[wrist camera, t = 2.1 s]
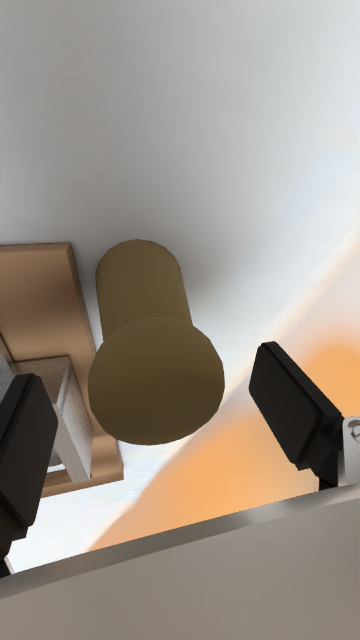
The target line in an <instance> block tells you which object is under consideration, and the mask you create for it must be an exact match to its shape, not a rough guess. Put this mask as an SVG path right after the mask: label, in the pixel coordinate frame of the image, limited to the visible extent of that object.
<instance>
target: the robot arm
mask: <svg viewBox="0 0 360 640" xmlns="http://www.w3.org/2000/svg"><path fill="white" fill-rule="evenodd" d="M249 392H250V395H251V396H252V398H253V400H254V401H255V403H256V405H257V406H258V408H259V410H260V412H261V413H262V415H263V417H264V418H265V420H266V422H267V424H268V425H269V427H270V429H271V430H272V432H273V434H274V436H275V437H276V439H277V441H278V442H279V444H280V446H281V448H282V449H283V451H284V453H285V454H286V456H287V458H288V459H289V461H290V462H291V463H293V464H295V465H296V467H297V468H298V471H300V470H304V469H308V468H311V470H312V471H313V473H314V474H315V483H314V493H309V494H305V495H301V496H297V497H293V498H289V499H285V500H282V501H278V502H274V503H270V504H266V505H262V506H259V507H255V508H251V509H247V510H243V511H239V512H236V513H232V514H228V515H224V516H221V517H217V518H213V519H209V520H206V521H202V522H198V523H194V524H191V525H187V526H183V527H179V528H176V529H172V530H168V531H164V532H161V533H157V534H153V535H150V536H146V537H142V538H138V539H135V540H131V541H127V542H124V543H120V544H116V545H113V546H109V547H105V548H102V549H98V550H94V551H91V552H87V553H83V554H80V555H76V556H72V557H69V558H66V559H62V560H59V561H55V562H52V563H48V564H45V565H42V566H38V567H35V568H31V569H28V570H24V571H21V572H18V573H15V572H14V570H13V568H12V566H11V564H10V562H9V559H8V557H7V555H8V553H9V550H10V547H11V543H12V541H15V540H19V539H23V538H26V534H27V530H28V527H29V526H32V525H33V523H34V521H35V518H36V514H37V510H38V506H39V502H40V498H41V494H42V490H43V486H44V482H45V478H46V473H47V469H48V465H49V461H50V457H51V453H52V449H53V445H54V441H55V437H56V433H57V429H58V418H57V415H56V413H55V410H54V408H53V406H52V403H51V401H50V398H49V396H48V394H47V391H46V389H45V386H44V384H43V382H42V379H41V377H40V376H36V375H35V374H34V373H27V374H19V375H16V376H15V377H14V378H13V380H12V382H11V384H10V386H9V388H8V390H7V392H6V394H5V396H4V398H3V399H2V401H1V403H0V640H360V417H357V416H355V417H354V416H351V417H347V418H346V419H345V418H344V417H343V416H342V415H341V414H342V413H341V412H340V411H339V410H338V409H337V408H336V407H335V406H334V404H333V403H332V402H331V401H330V400H329V399H328V398H327V397H326V396H325V395H324V394H323V392H322V391H321V390H320V389H319V388H318V387H317V386H316V385H315V384H314V383H313V382H312V380H311V379H310V378H309V377H308V376H307V375H306V374H305V373H304V372H303V371H302V370H301V368H300V367H299V366H298V365H297V364H296V363H295V362H294V361H293V360H292V359H291V358H290V356H288V354H287V353H286V352H285V351H284V350H283V349H282V348H281V347H280V346H279V344H278V343H276V342H275V341H272V342H265V343H262V344H261V346H259V347H258V349H257V353H256V358H255V362H254V366H253V370H252V375H251V379H250V384H249Z"/></svg>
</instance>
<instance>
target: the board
mask: <svg viewBox="0 0 360 640" xmlns="http://www.w3.org/2000/svg"><path fill="white" fill-rule="evenodd" d="M0 337H1V339H2V341H3V343H4V345H5V347H6V349H7V351H8V353H9V355H10V357H11V359H12V361H13V363H21V362H29V361H37V360H45V359H53V358H61V357H69V360H70V363H71V366H72V369H73V372H74V375H75V378H76V381H77V384H78V387H79V390H80V393H81V396H82V399H83V402H84V405H85V408H86V411H87V414H88V417H89V421H90V424H91V427H92V430H93V433H94V435H93V446H92V457H91V469H90V480H87V481H83V482H78V483H74V484H73V482H72V480H71V478H70V476H69V474H68V472H67V470H66V469H65V470H61V471H56V472H51V473H46V478H45V482H44V486H43V490H42V494H41V498H44V497H49V496H53V495H58V494H62V493H67V492H71V491H75V490H80V489H84V488H89V487H93V486H98V485H102V484H107V483H111V482H115V481H120V480H124V475H123V463H122V459H121V455H120V451H119V446H118V442H117V439H115V438H114V437H112V436H111V435H109V434H108V433H106V432H105V431H104V430H103V428H102V427H101V426H100V424H99V423H98V421H97V420H96V418H95V416H94V415H93V413H92V411H91V409H90V404H89V399H88V383H87V382H88V376H89V370H90V367H91V365H92V363H93V360H94V358H95V356H96V350H95V346H94V341H93V337H92V333H91V329H90V325H89V320H88V316H87V312H86V308H85V304H84V299H83V295H82V291H81V287H80V283H79V278H78V274H77V270H76V266H75V262H74V257H73V253H72V249H71V245H70V243H48V244H24V245H0ZM62 463H63V462H62V460H61V459H60V457H59V455H58V453H57V451H56V449H55V447H54V445H53V449H52V453H51V457H50V461H49V465H48V467H50V466H56V465H60V464H62Z"/></svg>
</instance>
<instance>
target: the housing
mask: <svg viewBox="0 0 360 640" xmlns="http://www.w3.org/2000/svg"><path fill="white" fill-rule="evenodd" d="M27 373H34V374H35V375H36V376H40V377H41V379H42V382H43V384H44V386H45V389H46V391H47V394H48V396H49V398H50V401H51V403H52V406H53V408H54V410H55V413H56V415H57V418H58V429H57V433H56V437H55V441H54V447H55V449H56V451H57V453H58V455H59V457H60V459H61V460H62V462H63V464H64V466H65V468H66V470H67V472H68V474H69V476H70V478H71V480H72V482H73V484H74V483H78V482H83V481H87V480H90V469H91V457H92V446H93V435H94V433H93V430H92V427H91V424H90V421H89V417H88V414H87V411H86V408H85V405H84V402H83V399H82V396H81V393H80V390H79V387H78V384H77V381H76V378H75V375H74V372H73V369H72V366H71V363H70V360H69V357H61V358H53V359H45V360H37V361H29V362H21V363H13V361H12V359H11V357H10V355H9V353H8V351H7V349H6V347H5V345H4V343H3V341H2V339H1V337H0V403H1V401H2V399H3V398H4V396H5V394H6V392H7V390H8V388H9V386H10V384H11V382H12V380H13V378H14V377H15V376H16V375H19V374H27Z"/></svg>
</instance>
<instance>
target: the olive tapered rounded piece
mask: <svg viewBox="0 0 360 640" xmlns="http://www.w3.org/2000/svg"><path fill="white" fill-rule="evenodd" d="M95 274H96V292H97V299H98V306H99V313H100V320H101V327H102V334H103V341H104V342H103V343H102V344H101V346H100V348H99V350H98V352H97V353H96V356H95V358H94V360H93V363H92V365H91V367H90V370H89V376H88V382H87V383H88V399H89V404H90V409H91V411H92V413H93V415H94V416H95V418H96V420H97V421H98V423H99V424H100V426H101V427H102V428H103V430H104V431H105V432H106V433H108V434H109V435H111V436H112V437H114V438H115V439H117V440H120V441H123V442H127V443H130V444H135V445H159V444H166V443H169V442H173V441H176V440H180V439H182V438H184V437H186V436H188V435H190V434H192V433H194V432H195V431H196V430H198V429H199V428H200V427H202V426H203V425H204V424H206V423H207V422H208V421H209V420H210V419H211V418H212V417H213V415H214V414H215V413H216V412H217V411H218V408H219V406H220V403H221V401H222V398H223V393H224V389H225V381H224V370H223V364H222V361H221V359H220V357H219V355H218V354H217V352H216V350H215V348H214V346H213V345H212V343H211V341H210V339H209V338H208V337H206V336H205V335H204V334H203V333H202V332H201V331H199V330H198V329H197V328H196V327H194V326H193V324H192V320H191V315H190V311H189V306H188V302H187V297H186V293H185V289H184V284H183V280H182V275H181V271H180V267H179V265H178V263H177V261H176V259H175V257H174V256H173V255H172V254H171V253H170V252H169V251H168V250H167V249H166V248H164V247H163V246H161V245H158V244H156V243H154V242H152V241H146V240H137V239H136V240H131V241H126V242H122V243H120V244H118V245H117V246H115V247H113V248H111V249H110V250H109V251H108V252H107V253H106V254H105V255H104V257H103V258H102V259H101V260H100V262H99V265H98V268H97V271H96V273H95Z"/></svg>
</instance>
